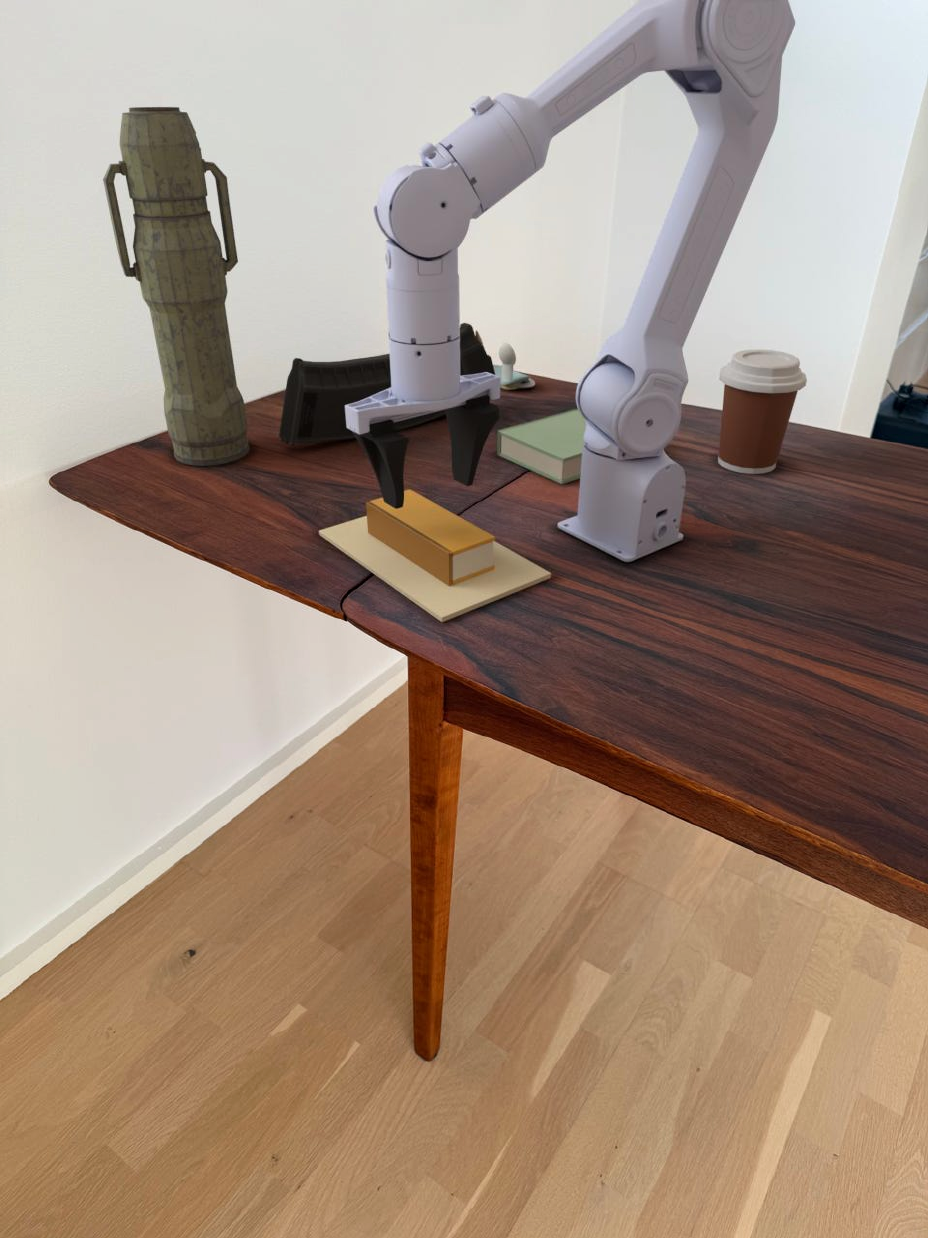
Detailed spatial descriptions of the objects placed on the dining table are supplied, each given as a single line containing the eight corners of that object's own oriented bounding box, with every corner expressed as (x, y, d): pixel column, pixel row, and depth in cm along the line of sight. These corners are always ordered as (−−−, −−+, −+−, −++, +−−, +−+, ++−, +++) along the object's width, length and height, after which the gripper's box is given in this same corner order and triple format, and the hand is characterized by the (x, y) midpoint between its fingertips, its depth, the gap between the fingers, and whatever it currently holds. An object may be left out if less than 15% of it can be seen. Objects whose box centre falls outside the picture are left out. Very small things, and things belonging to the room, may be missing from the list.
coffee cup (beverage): (689, 461, 98) (705, 356, 92) (735, 442, 103) (753, 342, 97) (758, 485, 92) (780, 374, 86) (803, 464, 97) (827, 358, 91)
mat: (551, 577, 75) (551, 573, 75) (442, 622, 69) (441, 617, 68) (420, 503, 88) (420, 498, 88) (319, 535, 82) (318, 530, 82)
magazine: (262, 383, 93) (473, 270, 103) (250, 376, 96) (457, 266, 105) (317, 508, 105) (502, 396, 114) (304, 499, 107) (487, 390, 116)
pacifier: (511, 377, 127) (480, 383, 123) (513, 334, 123) (481, 339, 120) (544, 388, 122) (513, 395, 119) (548, 344, 119) (515, 349, 115)
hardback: (593, 426, 108) (595, 403, 106) (660, 451, 101) (663, 426, 99) (496, 454, 100) (497, 430, 98) (562, 484, 92) (563, 458, 91)
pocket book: (367, 532, 81) (365, 502, 80) (411, 518, 84) (409, 488, 82) (449, 586, 73) (448, 553, 71) (494, 569, 75) (495, 536, 74)
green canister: (273, 454, 100) (228, 107, 81) (171, 474, 95) (98, 109, 76) (250, 432, 106) (204, 105, 88) (153, 448, 101) (83, 107, 83)
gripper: (465, 313, 74) (466, 460, 82) (319, 340, 67) (335, 499, 74) (517, 328, 70) (513, 483, 77) (368, 359, 62) (379, 527, 69)
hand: (429, 492), depth 75 cm, fingers open, 7 cm apart
